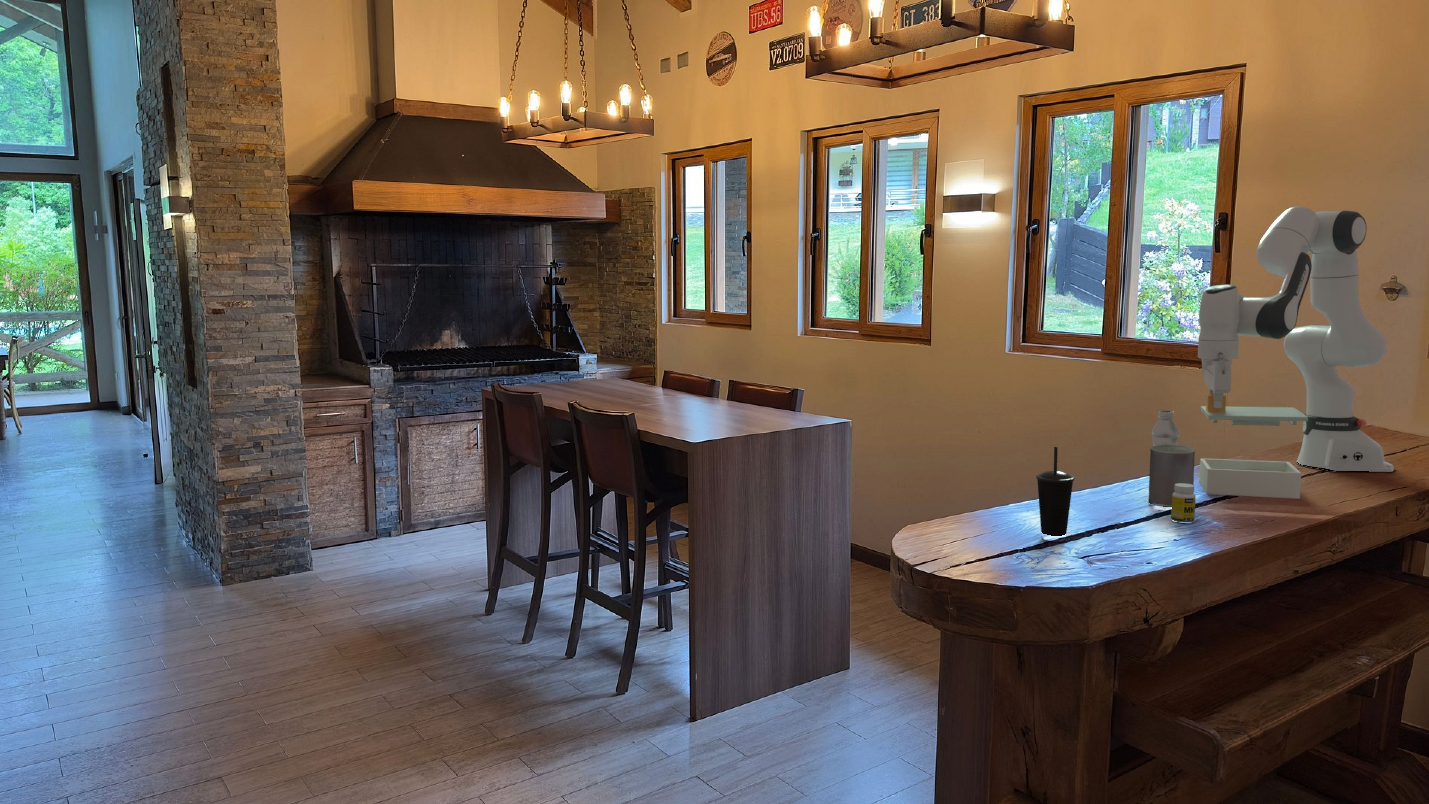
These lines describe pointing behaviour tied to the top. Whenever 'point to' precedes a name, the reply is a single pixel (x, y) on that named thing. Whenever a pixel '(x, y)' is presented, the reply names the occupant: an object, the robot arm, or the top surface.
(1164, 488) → the pillar candle
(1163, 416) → the plastic bottle
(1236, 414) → the lid
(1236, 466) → the tub
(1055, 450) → the drinking cup
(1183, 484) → the supplement bottle
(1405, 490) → the top surface
